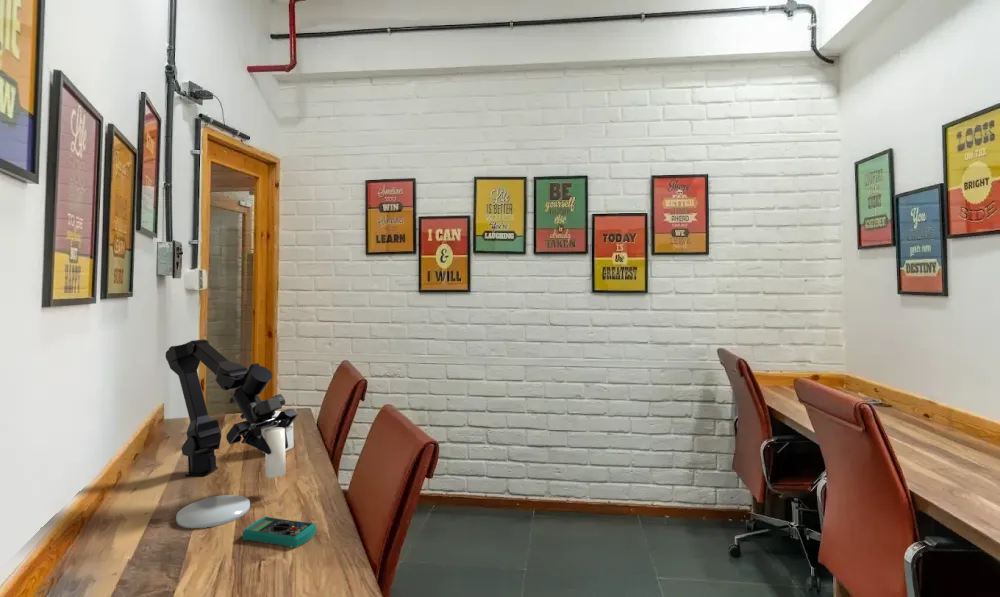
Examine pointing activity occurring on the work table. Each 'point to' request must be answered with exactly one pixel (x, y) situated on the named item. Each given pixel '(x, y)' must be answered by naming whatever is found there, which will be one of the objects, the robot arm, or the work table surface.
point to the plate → (213, 511)
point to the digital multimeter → (280, 531)
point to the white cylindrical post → (275, 452)
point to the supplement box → (288, 432)
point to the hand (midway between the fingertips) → (278, 450)
